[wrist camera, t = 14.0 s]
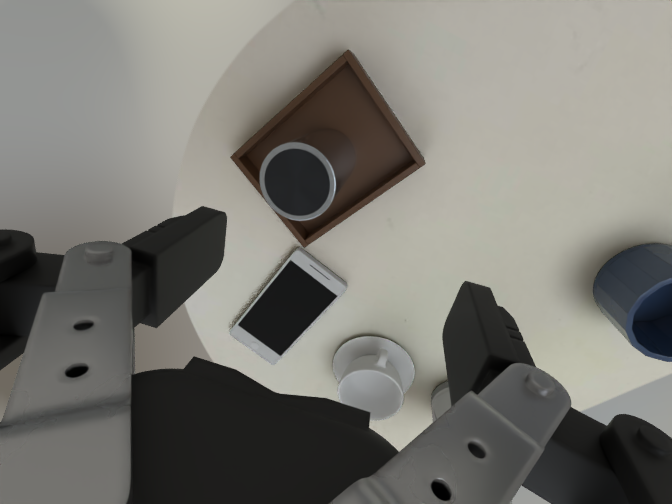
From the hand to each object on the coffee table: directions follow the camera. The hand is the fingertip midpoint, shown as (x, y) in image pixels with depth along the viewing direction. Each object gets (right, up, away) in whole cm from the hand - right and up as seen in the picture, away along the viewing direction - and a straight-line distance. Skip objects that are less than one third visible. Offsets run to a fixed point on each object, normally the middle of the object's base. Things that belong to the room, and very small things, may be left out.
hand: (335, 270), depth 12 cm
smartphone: (-6, -6, +31) cm, 32 cm away
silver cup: (-1, +10, +22) cm, 24 cm away
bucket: (+30, -3, +23) cm, 38 cm away
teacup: (+5, -14, +33) cm, 36 cm away
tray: (-1, +10, +23) cm, 25 cm away
